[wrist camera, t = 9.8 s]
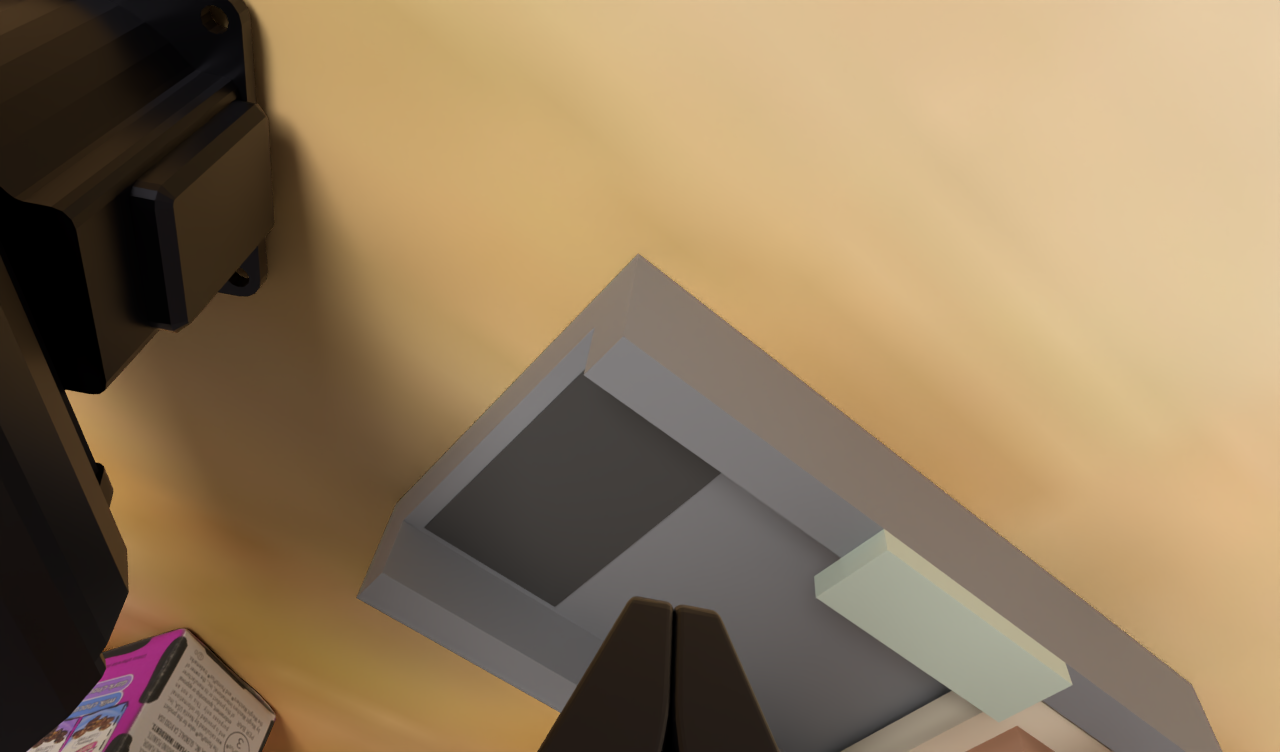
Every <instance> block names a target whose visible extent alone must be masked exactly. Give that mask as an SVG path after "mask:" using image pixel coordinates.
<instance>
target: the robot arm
mask: <svg viewBox="0 0 1280 752" xmlns="http://www.w3.org/2000/svg"><path fill="white" fill-rule="evenodd" d="M211 5H214V6H216V7H218V8H220V9H221V10H222V11H223V12H224V13H225V14H226V16H227V19H228V22H229V24H228V28H225V27H222V26H220V25H218V24H217V23H216V22H215V20H214V19H213V18H212V15H211V12H210V9H211ZM273 227H274V206H273V190H272V173H271V157H270V140H269V124H268V117H267V116H266V114H265V113H264V111H263V110H262V108H261V107H260V106H259V104H257V103H256V89H255V74H254V60H253V45H252V30H251V18H250V14H249V10H248V7H247V6H246V4H245V3H244V1H243V0H0V752H27V751H28V750H29V749H30V748H32V747H33V746H34V745H35V744H36V743H38V742H39V741H40V740H41V739H43V738H44V737H45V736H46V735H47V734H49V733H50V732H51V731H52V730H53V729H55V728H56V727H57V726H58V725H59V724H61V723H62V722H63V721H64V720H65V719H67V718H68V717H69V716H70V715H71V714H72V712H73V711H74V710H75V709H76V708H77V707H78V705H79V704H80V703H81V702H82V701H83V700H84V698H85V697H86V696H87V695H88V694H89V692H90V691H91V690H92V689H93V688H94V687H95V685H96V684H97V683H98V682H99V681H100V680H101V678H102V677H103V675H104V672H105V670H106V661H105V658H104V656H103V654H102V651H103V650H104V648H105V647H106V645H107V643H108V641H109V638H110V636H111V634H112V631H113V629H114V626H115V624H116V622H117V619H118V617H119V614H120V612H121V609H122V607H123V605H124V602H125V600H126V597H127V595H128V592H129V591H128V562H127V548H126V546H125V543H124V541H123V539H122V537H121V534H120V532H119V530H118V527H117V525H116V523H115V520H114V518H113V516H112V513H111V511H110V509H109V508H110V504H111V500H112V496H113V487H112V485H111V482H110V480H109V477H108V475H107V473H106V470H105V468H104V466H103V465H102V464H100V463H96V462H95V461H94V458H93V456H92V453H91V451H90V449H89V446H88V444H87V442H86V439H85V437H84V435H83V432H82V430H81V428H80V425H79V423H78V421H77V418H76V416H75V414H74V411H73V409H72V407H71V404H70V402H69V400H68V397H67V395H66V393H65V390H71V391H77V392H82V393H87V394H100V393H102V392H103V391H104V390H106V389H107V387H108V386H109V385H110V384H111V383H112V382H113V381H114V380H115V379H116V377H117V376H118V375H119V374H120V373H121V372H122V371H123V370H124V369H125V367H126V366H127V365H128V364H129V363H130V362H131V361H132V360H133V359H134V358H135V356H136V355H137V354H138V353H139V352H140V351H141V350H142V349H143V348H144V346H145V345H146V344H147V343H148V342H149V341H150V340H151V339H152V338H153V336H154V335H155V334H156V333H157V332H158V331H159V330H165V331H170V332H175V333H177V332H179V331H180V330H182V329H183V328H185V327H186V326H187V325H189V324H190V323H192V321H193V320H194V319H195V318H196V317H197V316H198V314H199V313H200V312H201V311H202V310H203V309H204V307H205V306H206V305H207V304H208V303H209V302H210V300H211V299H212V298H213V297H214V296H215V295H216V294H217V292H220V293H225V294H230V295H236V296H250V295H252V294H255V293H256V292H257V290H258V289H259V288H260V287H261V285H262V284H263V283H264V282H265V280H266V279H267V274H268V267H267V252H266V238H265V237H266V235H267V234H268V233H269V232H270V231H271V230H272V229H273ZM238 268H242V269H243V270H244V271H245V272H246V273H247V274H248V276H249V278H245V277H243V276H241V275H239V274H238V273H237V272H236V270H237V269H238ZM538 752H780V751H779V749H778V746H777V744H776V742H775V739H774V737H773V735H772V733H771V730H770V728H769V726H768V723H767V721H766V719H765V717H764V714H763V712H762V710H761V707H760V705H759V703H758V701H757V698H756V696H755V694H754V691H753V689H752V687H751V685H750V682H749V680H748V678H747V675H746V673H745V671H744V669H743V666H742V664H741V662H740V659H739V657H738V655H737V653H736V650H735V648H734V646H733V643H732V641H731V639H730V637H729V634H728V632H727V630H726V628H725V625H724V623H723V621H722V619H721V617H720V615H719V614H718V613H717V612H715V611H714V610H711V609H705V608H700V607H694V606H689V605H684V604H682V605H678V606H676V607H675V608H674V610H673V607H672V605H671V604H670V603H669V602H667V601H662V600H656V599H651V598H645V597H640V596H634V597H632V598H631V599H629V601H628V602H627V603H626V605H625V607H624V608H623V610H622V612H621V613H620V615H619V617H618V618H617V620H616V622H615V623H614V625H613V627H612V628H611V630H610V632H609V633H608V635H607V637H606V638H605V640H604V642H603V643H602V645H601V647H600V648H599V650H598V652H597V653H596V655H595V657H594V658H593V660H592V662H591V663H590V665H589V667H588V668H587V670H586V672H585V673H584V675H583V677H582V678H581V680H580V682H579V683H578V685H577V687H576V688H575V690H574V692H573V693H572V695H571V697H570V698H569V700H568V702H567V703H566V705H565V707H564V708H563V710H562V712H561V713H560V715H559V717H558V718H557V720H556V722H555V723H554V725H553V727H552V728H551V730H550V732H549V733H548V735H547V737H546V738H545V740H544V742H543V743H542V745H541V747H540V748H539V750H538Z"/></svg>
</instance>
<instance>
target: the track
mask: <svg viewBox="0 0 1280 752" xmlns="http://www.w3.org/2000/svg"><path fill="white" fill-rule="evenodd" d="M634 596H640V597H645V598H651V599H656V600H662V601H667V602H669V603H670V604H671V605H672V607H673V610H674V608H675V607H676V606H678V605H682V604H684V605H689V606H694V607H700V608H705V609H711V610H714V611H715V612H717V613H718V614H719V615H720V617H721V619H722V621H723V623H724V625H725V628H726V630H727V632H728V634H729V637H730V639H731V641H732V643H733V646H734V648H735V650H736V653H737V655H738V657H739V659H740V662H741V664H742V666H743V669H744V671H745V673H746V675H747V678H748V680H749V682H750V685H751V687H752V689H753V691H754V694H755V696H756V698H757V701H758V703H759V705H760V707H761V710H762V712H763V714H764V717H765V719H766V721H767V723H768V726H769V728H770V730H771V733H772V735H773V737H774V739H775V742H776V744H777V746H778V749H779V751H780V752H841V751H842V750H844V749H846V748H848V747H850V746H852V745H853V744H855V743H857V742H859V741H861V740H862V739H864V738H866V737H868V736H870V735H872V734H873V733H875V732H877V731H879V730H881V729H883V728H884V727H886V726H888V725H890V724H892V723H894V722H895V721H897V720H899V719H901V718H903V717H905V716H906V715H908V714H910V713H912V712H914V711H916V710H917V709H919V708H921V707H923V706H925V705H927V704H928V703H930V702H932V701H934V700H936V699H938V698H939V697H941V696H943V695H945V694H947V693H948V692H950V691H953V692H955V693H956V694H958V695H959V696H961V697H962V698H964V699H965V700H967V701H968V702H970V703H971V704H972V705H974V706H975V707H977V708H978V709H980V710H981V711H983V712H984V713H986V714H987V715H989V716H990V717H991V718H993V719H994V720H996V721H997V722H1001V721H1003V720H1005V719H1007V718H1009V717H1011V716H1013V715H1015V714H1017V713H1019V712H1021V711H1023V710H1024V709H1026V708H1028V707H1030V706H1032V705H1034V704H1036V703H1038V702H1040V701H1043V702H1045V703H1046V704H1048V705H1049V706H1051V707H1052V708H1053V709H1055V710H1056V711H1058V712H1059V713H1060V714H1062V715H1063V716H1065V717H1066V718H1067V719H1069V720H1070V721H1072V722H1073V723H1074V724H1076V725H1077V726H1079V727H1080V728H1082V729H1083V730H1084V731H1086V732H1087V733H1089V734H1090V735H1091V736H1093V737H1094V738H1096V739H1097V740H1098V741H1100V742H1101V743H1103V744H1104V745H1105V746H1107V747H1108V748H1110V749H1111V750H1113V751H1114V752H1222V750H1221V748H1220V746H1219V743H1218V741H1217V739H1216V737H1215V734H1214V732H1213V730H1212V728H1211V726H1210V723H1209V721H1208V719H1207V717H1206V715H1205V712H1204V710H1203V708H1202V706H1201V703H1200V701H1199V699H1198V697H1197V695H1196V692H1195V690H1194V688H1193V686H1192V684H1190V683H1189V682H1188V681H1186V680H1185V679H1184V678H1183V677H1181V676H1180V675H1179V674H1177V673H1176V672H1175V671H1174V670H1172V669H1171V668H1170V667H1168V666H1167V665H1166V664H1165V663H1163V662H1162V661H1161V660H1159V659H1158V658H1157V657H1156V656H1154V655H1153V654H1152V653H1151V652H1149V651H1148V650H1147V649H1145V648H1144V647H1143V646H1142V645H1140V644H1139V643H1138V642H1136V641H1135V640H1134V639H1133V638H1131V637H1130V636H1129V635H1127V634H1126V633H1125V632H1124V631H1122V630H1121V629H1120V628H1118V627H1117V626H1116V625H1115V624H1113V623H1112V622H1111V621H1109V620H1108V619H1107V618H1106V617H1104V616H1103V615H1102V614H1100V613H1099V612H1098V611H1097V610H1095V609H1094V608H1093V607H1091V606H1090V605H1089V604H1088V603H1086V602H1085V601H1084V600H1082V599H1081V598H1080V597H1079V596H1077V595H1076V594H1075V593H1073V592H1072V591H1071V590H1070V589H1068V588H1067V587H1066V586H1064V585H1063V584H1062V583H1061V582H1059V581H1058V580H1057V579H1055V578H1054V577H1053V576H1052V575H1050V574H1049V573H1048V572H1047V571H1045V570H1044V569H1043V568H1041V567H1040V566H1039V565H1038V564H1036V563H1035V562H1034V561H1032V560H1031V559H1030V558H1029V557H1027V556H1026V555H1025V554H1023V553H1022V552H1021V551H1020V550H1018V549H1017V548H1016V547H1014V546H1013V545H1012V544H1011V543H1009V542H1008V541H1007V540H1005V539H1004V538H1003V537H1002V536H1000V535H999V534H998V533H996V532H995V531H994V530H993V529H991V528H990V527H989V526H987V525H986V524H985V523H984V522H982V521H981V520H980V519H978V518H977V517H976V516H975V515H973V514H972V513H971V512H969V511H968V510H967V509H966V508H964V507H963V506H962V505H960V504H959V503H958V502H957V501H955V500H954V499H953V498H951V497H950V496H949V495H948V494H946V493H945V492H944V491H942V490H941V489H940V488H939V487H937V486H936V485H935V484H934V483H932V482H931V481H930V480H928V479H927V478H926V477H925V476H923V475H922V474H921V473H919V472H918V471H917V470H916V469H914V468H913V467H912V466H910V465H909V464H908V463H907V462H905V461H904V460H903V459H901V458H900V457H899V456H898V455H896V454H895V453H894V452H892V451H891V450H890V449H889V448H887V447H886V446H885V445H883V444H882V443H881V442H880V441H878V440H877V439H876V438H874V437H873V436H872V435H871V434H869V433H868V432H867V431H865V430H864V429H863V428H862V427H860V426H859V425H858V424H856V423H855V422H854V421H853V420H851V419H850V418H849V417H847V416H846V415H845V414H844V413H842V412H841V411H840V410H838V409H837V408H836V407H835V406H833V405H832V404H831V403H830V402H828V401H827V400H826V399H824V398H823V397H822V396H821V395H819V394H818V393H817V392H815V391H814V390H813V389H812V388H810V387H809V386H808V385H806V384H805V383H804V382H803V381H801V380H800V379H799V378H797V377H796V376H795V375H794V374H792V373H791V372H790V371H788V370H787V369H786V368H785V367H783V366H782V365H781V364H779V363H778V362H777V361H776V360H774V359H773V358H772V357H770V356H769V355H768V354H767V353H765V352H764V351H763V350H761V349H760V348H759V347H758V346H756V345H755V344H754V343H752V342H751V341H750V340H749V339H747V338H746V337H745V336H743V335H742V334H741V333H740V332H738V331H737V330H736V329H734V328H733V327H732V326H731V325H729V324H728V323H727V322H726V321H724V320H723V319H722V318H720V317H719V316H718V315H717V314H715V313H714V312H713V311H711V310H710V309H709V308H708V307H706V306H705V305H704V304H702V303H701V302H700V301H699V300H697V299H696V298H695V297H693V296H692V295H691V294H690V293H688V292H687V291H686V290H684V289H683V288H682V287H681V286H679V285H678V284H677V283H675V282H674V281H673V280H672V279H670V278H669V277H668V276H666V275H665V274H664V273H663V272H661V271H660V270H659V269H657V268H656V267H655V266H654V265H652V264H651V263H650V262H648V261H647V260H646V259H645V258H643V257H642V256H641V255H639V254H637V255H636V256H635V257H634V258H633V259H632V260H631V261H630V263H629V264H628V265H627V266H626V267H625V268H624V269H623V270H622V271H621V272H620V273H619V274H618V275H617V276H616V277H615V278H614V279H613V280H612V281H611V282H610V283H609V284H608V285H607V286H606V287H605V288H604V289H603V290H602V291H601V293H600V294H599V295H598V296H597V297H596V298H595V299H594V300H593V301H592V302H591V303H590V304H589V305H588V306H587V307H586V308H585V309H584V310H583V311H582V312H581V313H580V314H579V315H578V316H577V317H576V318H575V319H574V320H573V321H572V322H571V324H570V325H569V326H568V327H567V328H566V329H565V330H564V331H563V332H562V333H561V334H560V335H559V336H558V337H557V338H556V339H555V340H554V341H553V342H552V343H551V344H550V345H549V346H548V347H547V348H546V349H545V350H544V351H543V352H542V354H541V355H540V356H539V357H538V358H537V359H536V360H535V361H534V362H533V363H532V364H531V365H530V366H529V367H528V368H527V369H526V370H525V371H524V372H523V373H522V374H521V375H520V376H519V377H518V378H517V379H516V380H515V381H514V382H513V383H512V385H511V386H510V387H509V388H508V389H507V390H506V391H505V392H504V393H503V394H502V395H501V396H500V397H499V398H498V399H497V400H496V401H495V402H494V403H493V404H492V405H491V406H490V407H489V408H488V409H487V410H486V411H485V412H484V413H483V414H482V416H481V417H480V418H479V419H478V420H477V421H476V422H475V423H474V424H473V425H472V426H471V427H470V428H469V429H468V430H467V431H466V432H465V433H464V434H463V435H462V436H461V437H460V438H459V439H458V440H457V441H456V442H455V443H454V444H453V446H452V447H451V448H450V449H449V450H448V451H447V452H446V453H445V454H444V455H443V456H442V457H441V458H440V459H439V460H438V461H437V462H436V463H435V464H434V465H433V466H432V467H431V468H430V469H429V470H428V471H427V472H426V473H425V474H424V475H423V477H422V478H421V479H420V480H419V481H418V482H417V483H416V484H415V485H414V486H413V487H412V488H411V489H410V490H409V491H408V492H407V493H406V494H405V495H404V496H403V497H402V498H401V499H400V500H399V501H398V502H397V503H396V505H395V507H394V509H393V512H392V514H391V517H390V519H389V521H388V524H387V526H386V528H385V531H384V533H383V536H382V538H381V540H380V543H379V545H378V547H377V550H376V552H375V555H374V557H373V559H372V562H371V564H370V566H369V569H368V571H367V574H366V576H365V578H364V581H363V583H362V585H361V588H360V590H359V593H358V595H357V597H356V598H358V599H359V600H361V601H363V602H365V603H367V604H368V605H370V606H372V607H374V608H375V609H377V610H379V611H381V612H383V613H384V614H386V615H388V616H390V617H391V618H393V619H395V620H397V621H399V622H400V623H402V624H404V625H406V626H407V627H409V628H411V629H413V630H415V631H416V632H418V633H420V634H422V635H423V636H425V637H427V638H429V639H431V640H432V641H434V642H436V643H438V644H439V645H441V646H443V647H445V648H447V649H448V650H450V651H452V652H454V653H455V654H457V655H459V656H461V657H463V658H464V659H466V660H468V661H470V662H471V663H473V664H475V665H477V666H479V667H480V668H482V669H484V670H486V671H487V672H489V673H491V674H493V675H495V676H496V677H498V678H500V679H502V680H503V681H505V682H507V683H509V684H511V685H512V686H514V687H516V688H518V689H519V690H521V691H523V692H525V693H526V694H528V695H530V696H532V697H534V698H535V699H537V700H539V701H541V702H542V703H544V704H546V705H548V706H550V707H551V708H553V709H555V710H557V711H558V712H560V713H561V712H562V710H563V708H564V707H565V705H566V703H567V702H568V700H569V698H570V697H571V695H572V693H573V692H574V690H575V688H576V687H577V685H578V683H579V682H580V680H581V678H582V677H583V675H584V673H585V672H586V670H587V668H588V667H589V665H590V663H591V662H592V660H593V658H594V657H595V655H596V653H597V652H598V650H599V648H600V647H601V645H602V643H603V642H604V640H605V638H606V637H607V635H608V633H609V632H610V630H611V628H612V627H613V625H614V623H615V622H616V620H617V618H618V617H619V615H620V613H621V612H622V610H623V608H624V607H625V605H626V603H627V602H628V601H629V599H631V598H632V597H634Z"/></svg>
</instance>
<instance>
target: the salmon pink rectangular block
mask: <svg viewBox="0 0 1280 752" xmlns="http://www.w3.org/2000/svg"><path fill="white" fill-rule="evenodd" d="M841 752H1114V751H1113V750H1111V749H1110V748H1108V747H1107V746H1105V745H1104V744H1103V743H1101V742H1100V741H1098V740H1097V739H1096V738H1094V737H1093V736H1091V735H1090V734H1089V733H1087V732H1086V731H1084V730H1083V729H1082V728H1080V727H1079V726H1077V725H1076V724H1074V723H1073V722H1072V721H1070V720H1069V719H1067V718H1066V717H1065V716H1063V715H1062V714H1060V713H1059V712H1058V711H1056V710H1055V709H1053V708H1052V707H1051V706H1049V705H1048V704H1046V703H1045V702H1043V701H1040V702H1038V703H1036V704H1034V705H1032V706H1030V707H1028V708H1026V709H1024V710H1023V711H1021V712H1019V713H1017V714H1015V715H1013V716H1011V717H1009V718H1007V719H1005V720H1003V721H1001V722H997V721H996V720H994V719H993V718H991V717H990V716H989V715H987V714H986V713H984V712H983V711H981V710H980V709H978V708H977V707H975V706H974V705H972V704H971V703H970V702H968V701H967V700H965V699H964V698H962V697H961V696H959V695H958V694H956V693H955V692H953V691H950V692H948V693H947V694H945V695H943V696H941V697H939V698H938V699H936V700H934V701H932V702H930V703H928V704H927V705H925V706H923V707H921V708H919V709H917V710H916V711H914V712H912V713H910V714H908V715H906V716H905V717H903V718H901V719H899V720H897V721H895V722H894V723H892V724H890V725H888V726H886V727H884V728H883V729H881V730H879V731H877V732H875V733H873V734H872V735H870V736H868V737H866V738H864V739H862V740H861V741H859V742H857V743H855V744H853V745H852V746H850V747H848V748H846V749H844V750H842V751H841Z"/></svg>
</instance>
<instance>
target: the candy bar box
mask: <svg viewBox="0 0 1280 752" xmlns="http://www.w3.org/2000/svg"><path fill="white" fill-rule="evenodd" d="M102 654H103V656H104V658H105V661H106V670H105V672H104V675H103V677H102V678H101V680H100V681H99V682H98V683H97V684H96V685H95V687H94V688H93V689H92V690H91V691H90V692H89V694H88V695H87V696H86V697H85V698H84V700H83V701H82V702H81V703H80V704H79V705H78V707H77V708H76V709H75V710H74V711H73V712H72V714H71V715H70V716H69V717H68V718H67V719H65V720H64V721H63V722H62V723H61V724H59V725H58V726H57V727H56V728H55V729H53V730H52V731H51V732H50V733H49V734H47V735H46V736H45V737H44V738H43V739H41V740H40V741H39V742H38V743H36V744H35V745H34V746H33V747H32V748H30V749H29V750H28V751H27V752H262V750H263V748H264V745H265V743H266V741H267V739H268V736H269V734H270V731H271V729H272V727H273V725H274V722H275V720H276V713H275V712H274V711H273V710H272V708H271V707H270V706H269V705H268V704H267V703H266V702H265V700H264V699H263V698H262V697H261V696H260V695H259V694H258V693H257V692H256V691H255V690H254V689H253V688H252V687H250V686H249V685H248V684H247V683H245V682H244V681H243V680H242V679H240V678H239V677H238V676H237V675H236V674H235V673H234V672H233V671H232V670H231V669H229V668H228V667H227V666H226V665H225V664H224V663H223V662H221V661H220V660H219V659H218V658H217V656H216V655H215V654H214V653H213V652H212V651H211V650H210V649H209V648H208V647H207V646H205V645H204V644H203V643H202V642H201V641H200V640H199V639H197V638H196V637H195V636H194V635H193V634H192V633H191V632H190V631H189V630H187V629H176V630H173V631H170V632H167V633H163V634H160V635H157V636H153V637H150V638H147V639H144V640H140V641H137V642H134V643H131V644H128V645H125V646H122V647H118V648H115V649H112V650H109V651H106V652H103V653H102Z"/></svg>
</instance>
